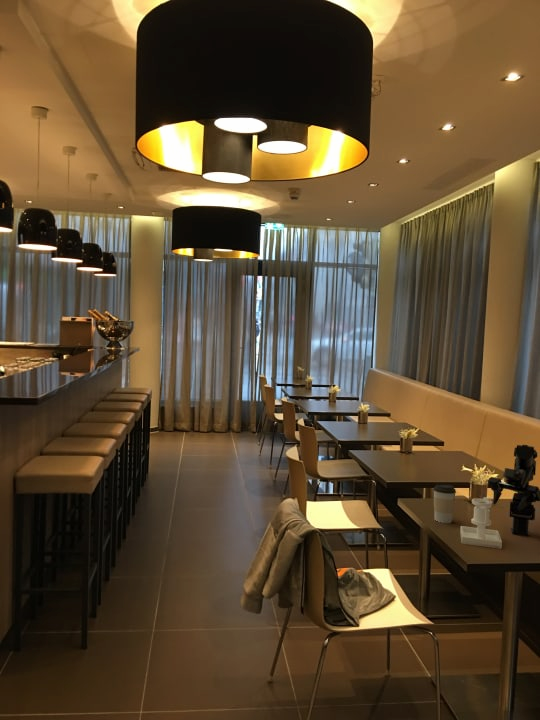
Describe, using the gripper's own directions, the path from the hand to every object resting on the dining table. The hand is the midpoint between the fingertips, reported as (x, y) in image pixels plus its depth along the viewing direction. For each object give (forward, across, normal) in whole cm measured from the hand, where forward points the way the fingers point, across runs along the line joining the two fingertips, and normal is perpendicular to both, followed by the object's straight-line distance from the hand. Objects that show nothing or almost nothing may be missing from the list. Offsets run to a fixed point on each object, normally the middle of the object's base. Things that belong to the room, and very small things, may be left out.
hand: (505, 506), depth 214 cm
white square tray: (+13, -7, +7) cm, 16 cm away
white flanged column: (+12, -7, +6) cm, 15 cm away
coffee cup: (+6, -29, +14) cm, 32 cm away
